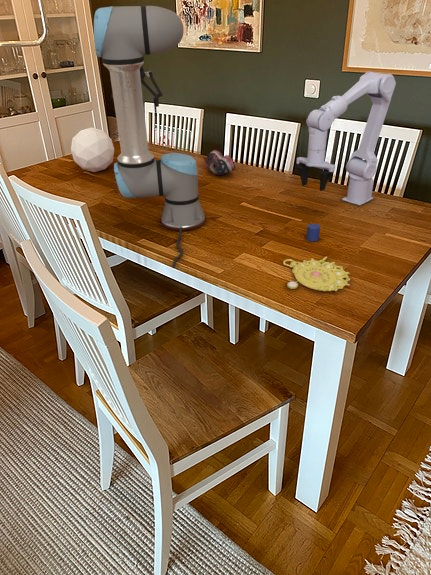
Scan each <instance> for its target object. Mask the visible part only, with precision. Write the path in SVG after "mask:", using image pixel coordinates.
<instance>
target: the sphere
mask: <svg viewBox="0 0 431 575" xmlns="http://www.w3.org/2000/svg"><path fill="white" fill-rule="evenodd" d="M70 151H71V155H72V158H73V161H74V163H75V164H77V165H78V166H79V167H80V168H81V169H82V170H84V171H88V172H91V173H97V172H101V171H104V170H106V169H107V168H108V167H109V166H110V165H111V164H112V163H114V162H113V161H114V155H115V146H114V143H113V140H112V138H111V137H110V136H109V135H108V134H107V133H106V132H105V130H102V129H100V128H95V127H92V126H91V127H88V128H84V129H81V130H80V131H78V132H77V133H76V134H75V135H74V136H73V137H72V139H71V145H70Z"/></svg>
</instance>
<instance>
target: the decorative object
mask: <svg viewBox="0 0 431 575" xmlns="http://www.w3.org/2000/svg"><path fill="white" fill-rule="evenodd" d="M327 259H328V256H326V255H325V256H324V257H323V258H322V259H320V260H315V259H314V258H312V257H311V258H310V260H302V261H303V262H301V261H295V260H294V259H291V258H285V260H283V262H282V264H283V265H284V266H286V267H289V268H292V269H291V272H292V274H293V275H294V278H295V281H292V280H290V281H288V282H287V283H286V286H287V288H288V289H291V290H295V289H298V287H299V284H301V285H303V286H304V287H306V288H309V289H311V290H315V291H321V292H332V291H335V292H338V290H343V288H344V287H346V286H348V287H349V286H350V283H348V282H349V281H351V278H350V277H349V275H350V274H351V272H349V271H345V270H344V267H343V266H341V265H340V266H339V265H338V264H336V262H335V261H332V262H329V261H326V260H327ZM286 262H290V264H287V263H286Z"/></svg>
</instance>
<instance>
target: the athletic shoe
mask: <svg viewBox="0 0 431 575" xmlns="http://www.w3.org/2000/svg"><path fill="white" fill-rule="evenodd" d="M203 162H204V164H205V165H204V164H202V165H201V167H203V168H206V169H208V171H209V172H210V173H211V175H215V176H223V175H226V174H229V173H232V172H235V171H236V170H237V169H236V165H235V162H234V159H233V158H232V157H231V155H227V154H226V155H224V154H222V152H221V151H220V150H218V149H213V150H212V151H210V152H209V154H207V156H206V157H204V158H203Z"/></svg>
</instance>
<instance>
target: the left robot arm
mask: <svg viewBox="0 0 431 575" xmlns="http://www.w3.org/2000/svg"><path fill="white" fill-rule="evenodd" d="M184 31H185V30H184V24H183V21H182V19H181V18H180V16H179V15H178V14H177V13H176V12H174V11H173V10H171V9H168V8H164V7H162V6H158V5H129V6H125V5H123V6H122V5H121V6H113V5H112V6H104V7H99V8H97V9H96V10H95V12H94V17H93V42H94V51H95V55H96V57H98V58H101V60H102V65H103V66H104V67H105V68H107V70H108V72H109V76H110V83H111V84H110V85H111V95H110V99H112V100H113V105H114V112H115V117H116V126H117V132H118V139H119V146H120V154H119V155H118V156H117V158H116V159H117V162H115V163H114V164H113V171H114V175H115V181H116V185H117V188H118V191H119V192H120V194H121V196H122V197H123V198H125V199H140V198H141V199H142V198H152V197H153V198H154V197H164V204H163V207H162V210H161V212H162V213H161V219H160V220H161V225H162V227H163V228H165V229H167V230H170V231H175V232H176V231H177V232H178V237H177V241H176V247H177V249H178V250H179V254H178V255H177V256H176V257H174V259H173V261H172V266H171V268H172V269H175V268H176V263H177V261H178V260H179V259H181V257H183V255H184V251H183V248H181V246H180V242H181V238H182V235H183V234H182V233H183V232H185V231H186V232H187V231H192V230H195V229H198V228H201V227H202V226H203V225H204V224H205V223H206V215H205V212H204V210H203V208H202V204H201V202H200V196H199V180H198V174H199V171H198V165H197V161H196V159H195V158H194V157H193V156H191V155H188V154H185V153H179V152H170V153H169V152H168V153H163V154H162V155H161V156H160V159H155V154H153V152H151V151H150V149H149V144H148V142H149V141H148V134H147V132H148V131H147V125H146V113H145V106H144V97H143V88H142V85H143V86H144V87H145V89H147V90H148V92H150V94H151V95H152V96H153V108H154V117H158V110H157V107H160V101H159V98H161V97H163V95H164V94H163V92H162V90H161V89H160V86H159V85H158V83H157V81H156V79H155V78H154V74H153V71H152V70H149V71H145V66H144V63H145V58H144V57H145V56H147V55H148V56H149V55H158V54H162V53H166V52H168V51H170V50H172V49H174V48H175V47H177V46H178V45H179V44H180V43H181V41H182V40H183V37H184V33H185V32H184ZM146 76H147V78H149V79H150V81H151V83H152V84H153V86H154V89H155V90H156V91H155V90H154V89H153V87H151V86H150V85H149V83H148V82H147V81H146V80H145V78H146Z"/></svg>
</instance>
